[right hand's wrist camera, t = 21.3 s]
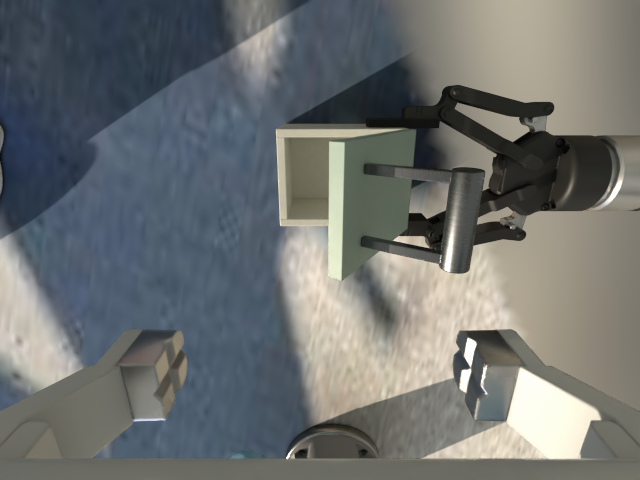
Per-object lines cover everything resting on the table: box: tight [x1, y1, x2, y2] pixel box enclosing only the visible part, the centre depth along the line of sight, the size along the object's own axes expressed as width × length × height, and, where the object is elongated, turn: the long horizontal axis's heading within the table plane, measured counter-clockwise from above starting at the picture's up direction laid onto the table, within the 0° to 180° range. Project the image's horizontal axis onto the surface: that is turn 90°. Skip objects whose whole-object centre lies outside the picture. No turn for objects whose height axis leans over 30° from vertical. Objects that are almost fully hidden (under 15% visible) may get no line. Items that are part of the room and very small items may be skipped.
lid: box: [328, 129, 485, 281], centre depth 26 cm, size 13×9×8 cm
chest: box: [276, 124, 407, 226], centre depth 38 cm, size 12×9×9 cm
